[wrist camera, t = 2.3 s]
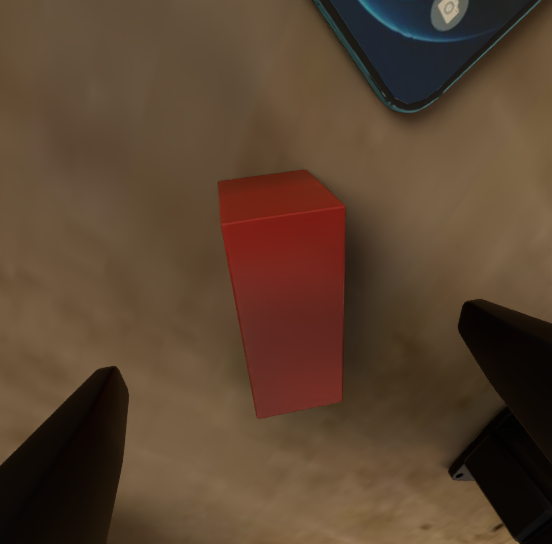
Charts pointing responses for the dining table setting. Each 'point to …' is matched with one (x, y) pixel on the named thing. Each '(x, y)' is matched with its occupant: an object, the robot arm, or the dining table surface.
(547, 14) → the dining table surface
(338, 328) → the red rectangular block
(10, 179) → the dining table surface
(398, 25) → the smartphone
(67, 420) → the robot arm
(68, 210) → the dining table surface
